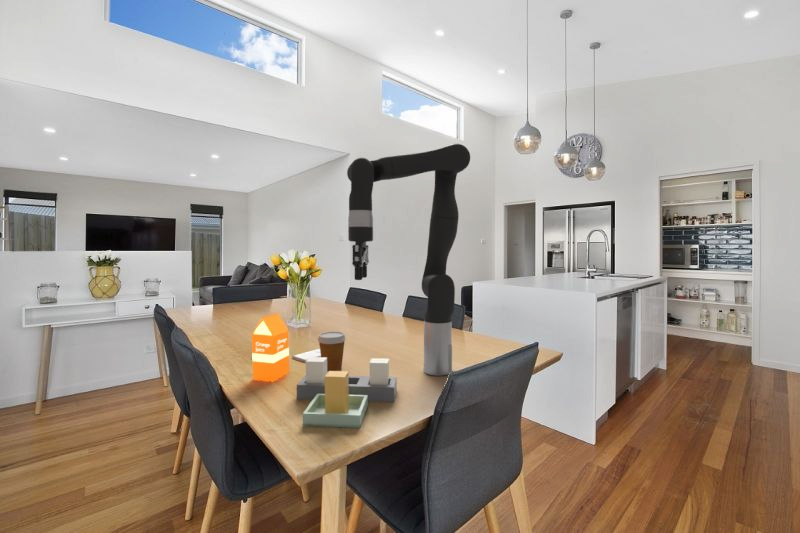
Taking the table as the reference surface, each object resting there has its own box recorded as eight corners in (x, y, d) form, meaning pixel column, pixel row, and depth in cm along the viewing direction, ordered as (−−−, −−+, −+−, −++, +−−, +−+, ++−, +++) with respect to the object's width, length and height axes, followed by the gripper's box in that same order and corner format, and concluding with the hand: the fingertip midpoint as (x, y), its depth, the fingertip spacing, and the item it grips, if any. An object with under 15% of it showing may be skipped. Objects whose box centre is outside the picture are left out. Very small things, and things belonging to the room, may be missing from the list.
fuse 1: (327, 391, 107) (327, 357, 106) (323, 396, 103) (323, 361, 102) (310, 390, 107) (310, 357, 107) (306, 396, 103) (305, 361, 103)
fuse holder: (396, 390, 108) (396, 376, 107) (394, 401, 100) (394, 387, 99) (306, 387, 110) (306, 374, 109) (296, 399, 102) (296, 384, 101)
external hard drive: (292, 359, 138) (318, 352, 148) (305, 364, 133) (331, 355, 143) (292, 355, 138) (318, 348, 148) (305, 359, 133) (331, 351, 143)
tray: (367, 406, 97) (367, 395, 97) (360, 428, 85) (360, 415, 85) (317, 404, 98) (317, 393, 98) (302, 426, 86) (302, 413, 86)
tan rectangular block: (348, 409, 93) (348, 371, 93) (345, 417, 89) (344, 377, 89) (329, 409, 94) (329, 370, 93) (325, 416, 90) (324, 376, 89)
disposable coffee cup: (340, 374, 121) (340, 338, 120) (313, 372, 122) (312, 337, 122) (350, 365, 130) (349, 331, 129) (324, 363, 132) (324, 330, 131)
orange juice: (289, 372, 123) (288, 313, 122) (273, 382, 114) (272, 318, 113) (269, 370, 125) (268, 312, 124) (252, 379, 116) (250, 317, 115)
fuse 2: (389, 392, 106) (389, 358, 105) (387, 398, 102) (387, 363, 101) (371, 392, 106) (371, 358, 106) (369, 398, 102) (369, 362, 102)
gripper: (369, 224, 105) (369, 281, 106) (376, 227, 119) (376, 276, 120) (343, 224, 106) (344, 280, 107) (353, 227, 120) (353, 276, 121)
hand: (361, 278), depth 114 cm, fingers open, 8 cm apart
